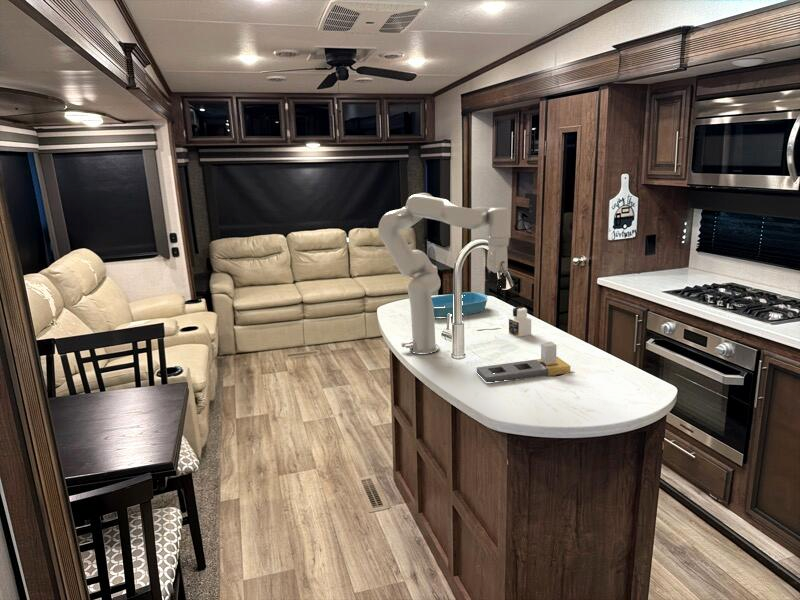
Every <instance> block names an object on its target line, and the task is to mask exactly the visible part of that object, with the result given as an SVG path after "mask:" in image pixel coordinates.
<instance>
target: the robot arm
mask: <svg viewBox="0 0 800 600" xmlns="http://www.w3.org/2000/svg"><path fill="white" fill-rule="evenodd" d="M423 218H424V219H428V220H429V219H430V220H435V221H438V222H442V223H445V224H448V225H450V226H453V227H458V228H463V229H468V230H477V229H480V228H481V227H486V226H488V228H487V229H488V233H487V234H488V235H487V236H488V237H487V245H488V247H487V258H486V268H487V270H488V283H489V284H497V289H498V290H506V289H507V278H508V270H509V269H508V265H509V264H508V247H509V243H510V237H509V236H510V210H509V208H507V207H489V206H484V205H482V206H480V205H479V206H476V207H472V208H471V207H470V208H469V207H464V206H460V205H455V204H452V203H451V202H450V201H449V200H448V199H446V198H442V197H441V198H440V197H435V196H433V195H432V194H430V193H428V192H419V193H415V194H412V195H411V196H409V197H408V198H407V200H406V203H405V206H403V207H402V208H399V209H398V208H397V209H394V210H390V211H388V212H385V214H384V215H383V216H382V217H381V219H380V220H379V223H378V230H377V231H378V235H379V237H380V241H382V243H383V245H384V246H385V248H386V249H387V251H388V253H389V255H390V257H391V259H392V261H393V262H394V264H395V266H396V267H397V270H398V271H399V272H400V274H401V275H402V276H403V277H411V276H413V275H414V278H412V279H411V280H410V282H409V283H408V286H407V294H408V299H409V300H408V301H409V305H410V317H411V335H412V338H411V339H410V340H409V341H407V342H401V348H406V349H410V350H409V352H410V351H412V352H415V353H431V352H435V351H437V350H438V351H439V350H440V346H439V344H437V343H436V327H435V325H436V323H435V318H434V306H433V302H432V298H431V297H432V296H433V295H434V294H436V293H437V292H438V291H439V290H440V288H441V282H442V281H441V278H440V276H439V273H438V272H437V270H436V269H435V267H434V265H433V263H432V261H431V260H430V258H429V257H428V256H427V254H426V253H425V252H424V251H422V250H420V249H413V250H412V248H411V246H410V245H409V243H408V241H407V240H406V238H404V236H403V235H401V233H400V231H404V230H407V229H409V228H412V226H414V225H415V224H416V223H418V222H419V221H420V220H422V219H423ZM488 248H489V249H488ZM489 251H490V252H489ZM491 253H492V254H491ZM501 261H502V262H501ZM496 266H497V267H496ZM500 286H501V287H500ZM438 351H437V352H438ZM412 352H411V353H412ZM435 353H436V352H435Z"/></svg>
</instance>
